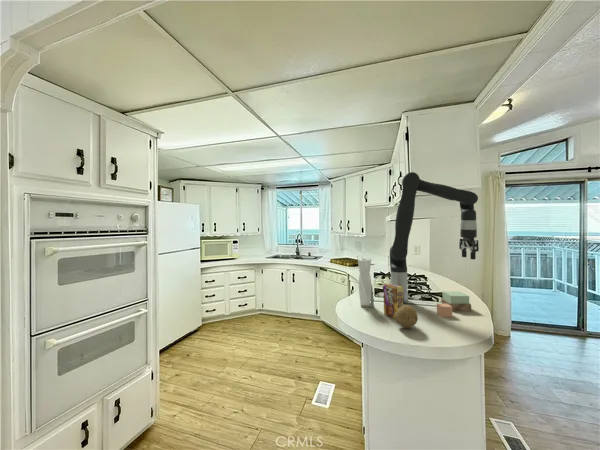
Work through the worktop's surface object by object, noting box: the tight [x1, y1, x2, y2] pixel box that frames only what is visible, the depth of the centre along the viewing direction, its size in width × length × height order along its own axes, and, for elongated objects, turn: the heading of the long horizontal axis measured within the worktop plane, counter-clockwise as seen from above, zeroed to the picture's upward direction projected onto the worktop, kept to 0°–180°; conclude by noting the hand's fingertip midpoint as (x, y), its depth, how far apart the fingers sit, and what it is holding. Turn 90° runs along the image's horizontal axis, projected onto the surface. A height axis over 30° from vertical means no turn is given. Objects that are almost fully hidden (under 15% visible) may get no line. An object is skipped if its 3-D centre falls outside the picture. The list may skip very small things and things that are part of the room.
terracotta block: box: [436, 303, 453, 318], centre depth 125 cm, size 5×5×5 cm
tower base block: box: [441, 298, 472, 312], centre depth 135 cm, size 10×10×4 cm
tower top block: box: [442, 290, 470, 304], centre depth 135 cm, size 9×9×4 cm
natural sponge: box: [394, 304, 419, 330], centre depth 110 cm, size 9×9×10 cm
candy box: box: [383, 283, 404, 319], centre depth 125 cm, size 9×4×15 cm, turn 26°
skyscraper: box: [356, 255, 375, 309], centre depth 143 cm, size 8×8×28 cm
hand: (468, 258), depth 140 cm, fingers open, 8 cm apart
